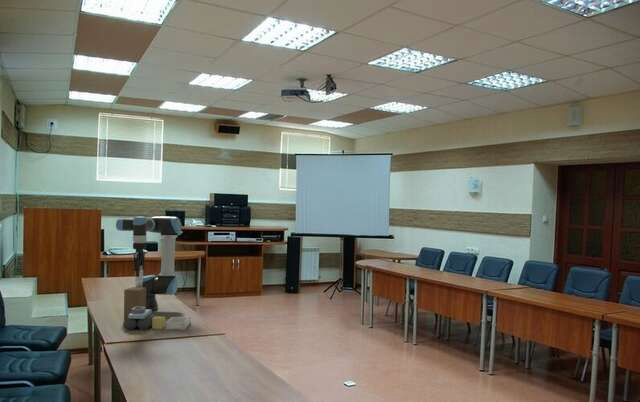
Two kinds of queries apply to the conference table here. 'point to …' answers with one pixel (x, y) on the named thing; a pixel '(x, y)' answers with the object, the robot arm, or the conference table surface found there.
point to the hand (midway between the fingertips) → (139, 281)
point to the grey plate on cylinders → (139, 318)
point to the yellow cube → (158, 322)
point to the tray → (177, 323)
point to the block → (133, 299)
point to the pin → (139, 284)
